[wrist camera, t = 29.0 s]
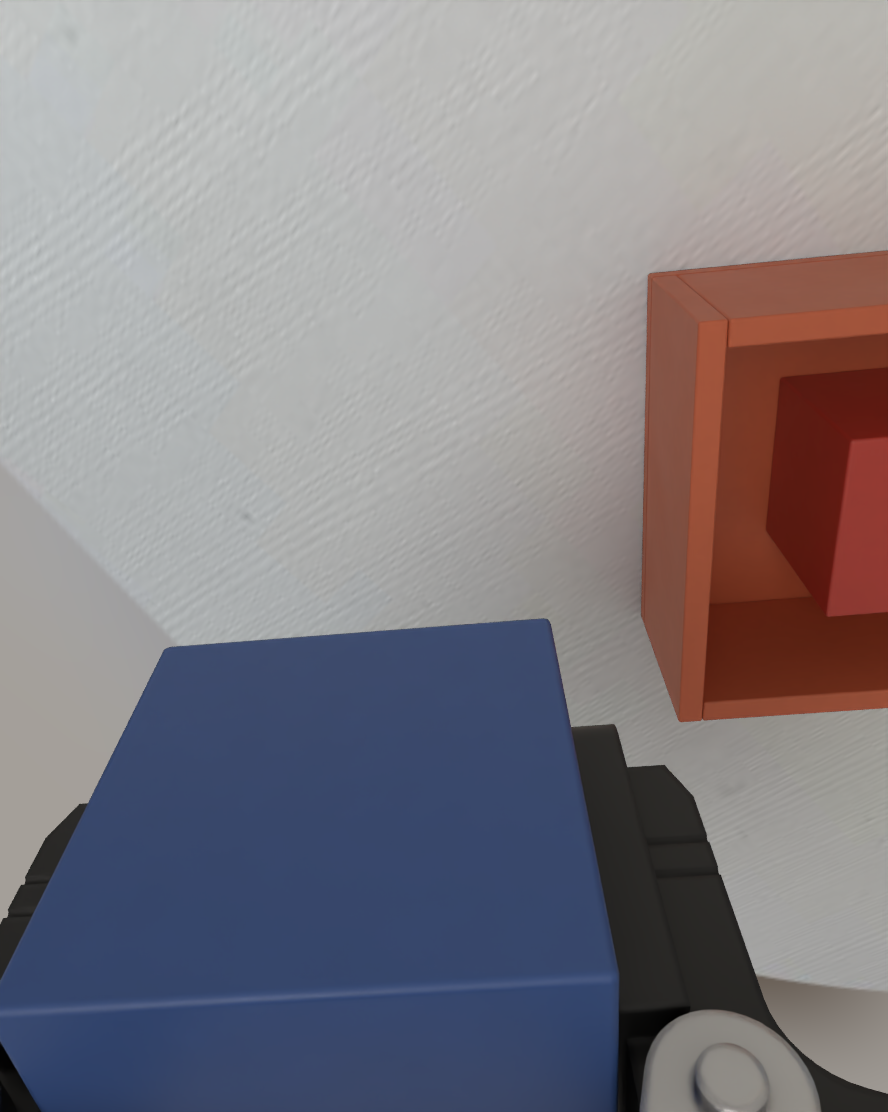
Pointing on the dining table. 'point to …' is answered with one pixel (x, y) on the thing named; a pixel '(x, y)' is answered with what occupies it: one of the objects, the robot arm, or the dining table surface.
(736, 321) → the orange bin
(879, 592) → the red block
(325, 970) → the blue block
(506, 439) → the dining table surface
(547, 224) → the dining table surface
